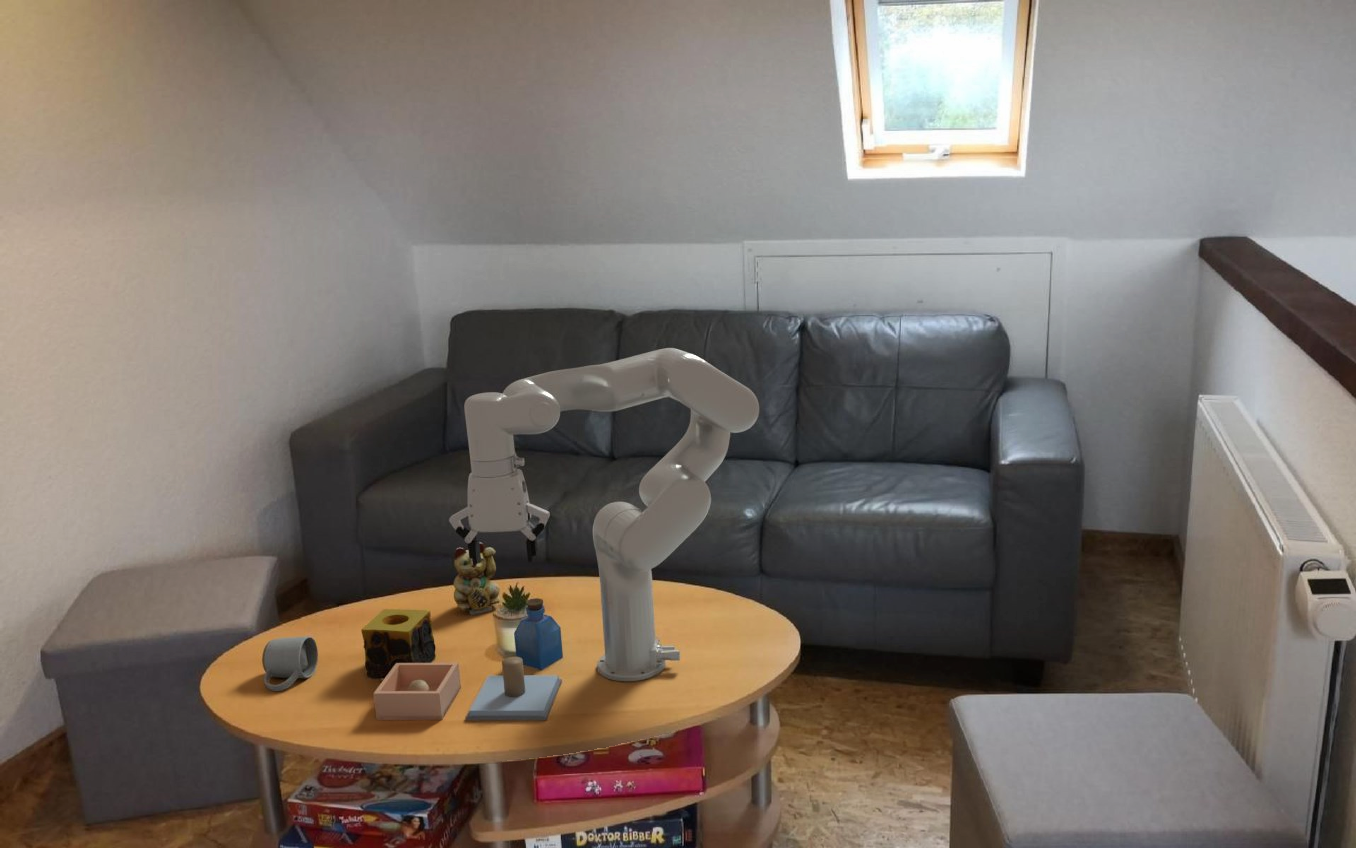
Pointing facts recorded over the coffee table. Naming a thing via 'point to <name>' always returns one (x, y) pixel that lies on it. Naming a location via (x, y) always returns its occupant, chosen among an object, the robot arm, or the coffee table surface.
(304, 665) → the ceramic mug
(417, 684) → the ball
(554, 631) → the perfume bottle
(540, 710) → the lid
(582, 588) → the coffee table surface
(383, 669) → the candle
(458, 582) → the decorative figurine
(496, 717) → the mat
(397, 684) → the dish
